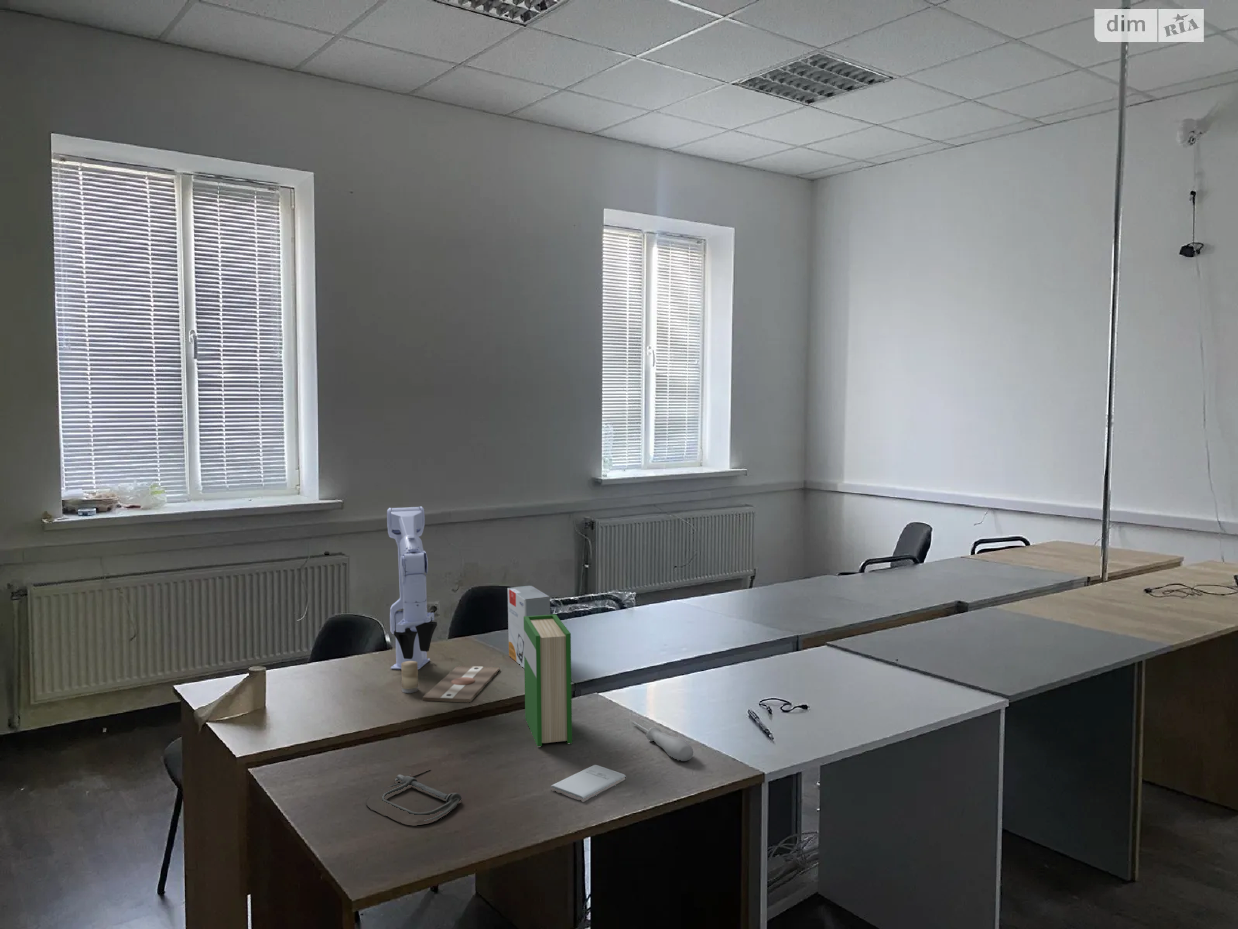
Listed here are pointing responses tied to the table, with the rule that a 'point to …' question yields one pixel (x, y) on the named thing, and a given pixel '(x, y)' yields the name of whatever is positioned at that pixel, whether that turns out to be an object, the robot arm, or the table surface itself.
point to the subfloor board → (461, 684)
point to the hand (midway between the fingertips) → (416, 654)
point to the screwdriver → (669, 743)
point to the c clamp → (407, 780)
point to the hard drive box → (521, 605)
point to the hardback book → (547, 679)
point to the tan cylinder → (409, 676)
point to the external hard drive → (588, 781)
